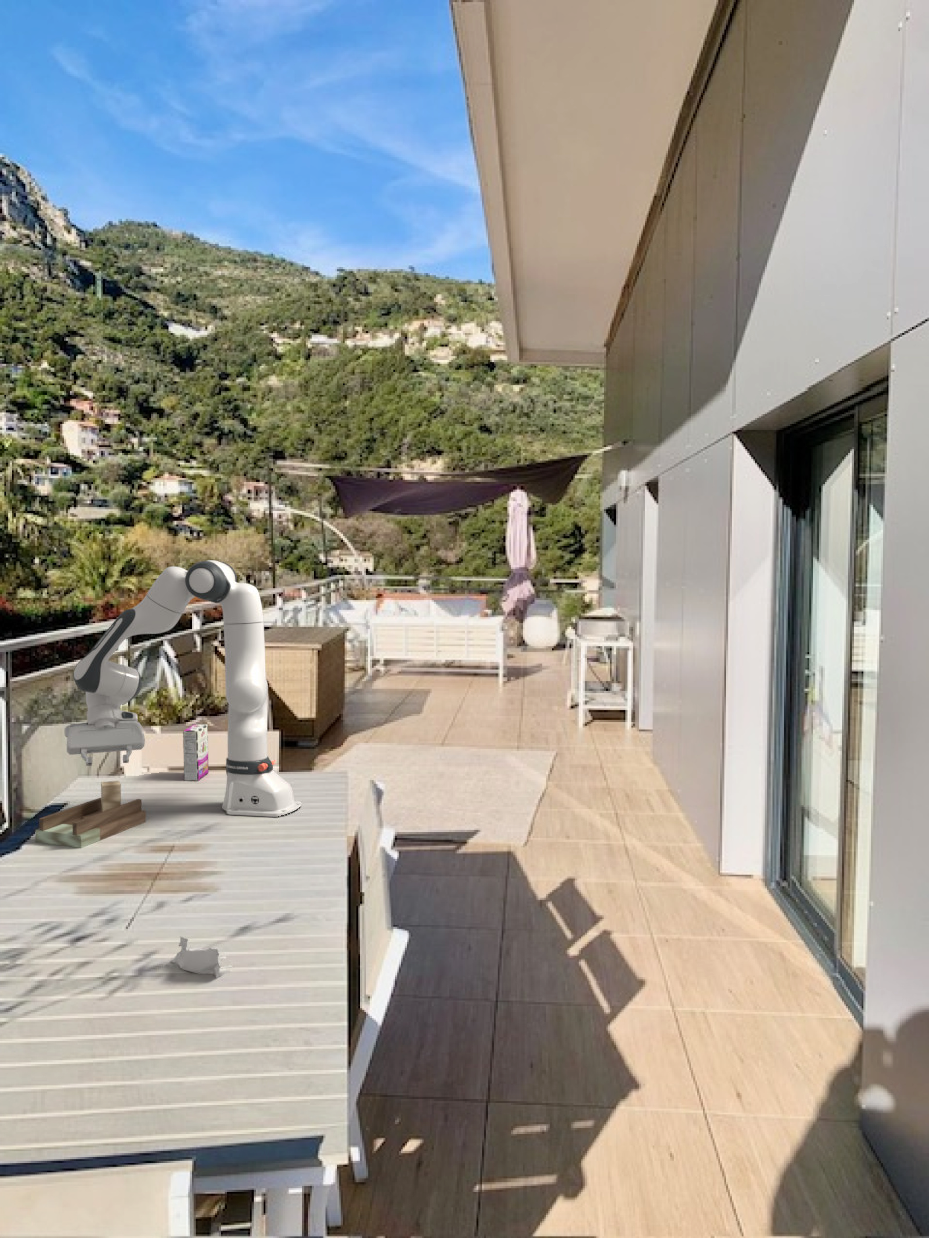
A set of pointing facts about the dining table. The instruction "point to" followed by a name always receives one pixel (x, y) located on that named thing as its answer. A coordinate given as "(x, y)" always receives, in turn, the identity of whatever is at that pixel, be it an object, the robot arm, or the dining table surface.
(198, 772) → the candy bar box
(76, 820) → the channel deck
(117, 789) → the beech block
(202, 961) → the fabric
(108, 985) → the dining table surface
